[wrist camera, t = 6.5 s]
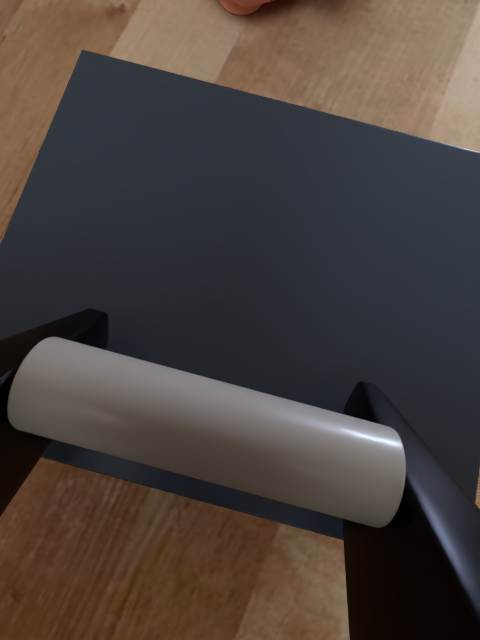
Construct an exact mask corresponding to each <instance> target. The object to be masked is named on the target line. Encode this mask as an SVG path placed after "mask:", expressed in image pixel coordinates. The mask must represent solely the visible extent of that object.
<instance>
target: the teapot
mask: <svg viewBox="0 0 480 640" xmlns="http://www.w3.org/2000/svg"><path fill="white" fill-rule="evenodd" d="M219 1H220V3H221V5H222V6H223V7H224V8H225V9H226V10H227V11H229V12H231V13H234V14H238V15H246V14H250V13H253V12H255V11H256V10H257V9H259V7H260V6H261V4H264V3H267V2H270V1H273V0H219Z"/></svg>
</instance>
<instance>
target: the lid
mask: <svg viewBox="0 0 480 640" xmlns="http://www.w3.org/2000/svg"><path fill="white" fill-rule="evenodd" d="M89 308H92V309H96V310H100V311H104V312H106V313H107V314H108V317H109V325H108V344H107V348H106V350H103V349H99V348H96V347H92V346H88V345H85V344H81V343H77V342H74V341H70V340H66V339H62V338H59V337H49V338H46V339H44V340H42V341H41V342H39V343H38V344H37V345H36V346H34V347H33V349H32V350H31V351H30V352H29V353H28V354H27V356H26V357H25V359H24V360H23V362H22V363H21V365H20V367H19V369H18V371H17V373H16V375H15V377H14V380H13V383H12V386H11V389H10V393H9V397H8V405H7V413H8V418H9V421H10V423H11V425H12V426H13V427H14V428H16V429H17V430H21V431H24V432H28V433H32V434H35V435H39V436H43V437H46V438H50V439H53V440H52V442H51V443H50V444H49V446H48V447H47V449H46V450H45V452H44V453H43V455H42V456H41V457H42V458H46V459H50V460H53V461H57V462H60V463H64V464H68V465H71V466H75V467H79V468H82V469H86V470H90V471H93V472H97V473H101V474H104V475H108V476H111V477H115V478H119V479H122V480H126V481H130V482H133V483H137V484H141V485H144V486H148V487H152V488H155V489H159V490H163V491H166V492H170V493H173V494H177V495H181V496H184V497H188V498H192V499H195V500H199V501H203V502H206V503H210V504H214V505H217V506H221V507H224V508H228V509H232V510H235V511H239V512H243V513H246V514H250V515H254V516H257V517H261V518H265V519H268V520H272V521H276V522H279V523H283V524H286V525H290V526H294V527H297V528H301V529H305V530H308V531H312V532H316V533H319V534H323V535H327V536H330V537H334V538H337V539H341V540H344V539H343V523H342V519H346V520H350V521H353V522H357V523H361V524H364V525H368V526H372V527H375V528H380V527H384V526H386V525H387V524H388V523H389V522H390V521H391V520H392V519H393V517H394V516H395V514H396V512H397V510H398V507H399V505H400V502H401V498H402V495H403V490H404V484H405V474H406V461H405V452H404V447H403V443H402V440H401V438H400V436H399V434H398V433H397V432H396V431H395V430H394V429H393V428H391V427H389V426H385V425H381V424H377V423H374V422H370V421H366V420H363V419H359V418H355V417H351V416H348V415H344V414H343V410H344V407H345V404H346V402H347V400H348V398H349V396H350V395H351V393H352V391H353V389H354V387H355V385H356V384H357V383H358V382H359V381H364V382H368V383H372V384H375V385H377V386H378V387H379V388H380V389H381V390H382V392H383V393H384V394H385V395H386V396H387V398H388V399H389V400H390V401H391V402H392V404H393V405H394V406H395V407H396V408H397V410H398V411H399V412H400V413H401V415H402V416H403V417H404V418H405V419H406V421H407V422H408V423H409V424H410V425H411V427H412V428H413V429H414V430H415V431H416V433H417V434H418V435H419V436H420V438H421V439H422V440H423V441H424V442H425V444H426V445H427V446H428V447H429V448H430V450H431V451H432V452H433V453H434V455H435V456H436V457H437V458H438V459H439V461H440V462H441V463H442V464H443V465H444V467H445V468H446V469H447V470H448V471H449V473H450V474H451V475H452V476H453V478H454V479H455V480H456V481H457V482H458V484H459V485H460V486H461V487H462V488H463V490H464V491H465V492H466V493H467V494H468V496H469V497H470V498H471V499H472V501H473V502H474V503H475V500H476V492H477V484H478V477H479V469H480V153H479V152H475V151H471V150H467V149H463V148H460V147H456V146H452V145H448V144H444V143H440V142H436V141H433V140H429V139H425V138H421V137H417V136H413V135H409V134H406V133H402V132H398V131H394V130H390V129H386V128H382V127H379V126H375V125H371V124H367V123H363V122H359V121H355V120H352V119H348V118H344V117H340V116H336V115H332V114H328V113H325V112H321V111H317V110H313V109H309V108H305V107H301V106H298V105H294V104H290V103H286V102H282V101H278V100H274V99H271V98H267V97H263V96H259V95H255V94H251V93H247V92H244V91H240V90H236V89H232V88H228V87H224V86H220V85H217V84H213V83H209V82H205V81H201V80H197V79H193V78H190V77H186V76H182V75H178V74H174V73H170V72H166V71H163V70H159V69H155V68H151V67H147V66H143V65H139V64H136V63H132V62H128V61H124V60H120V59H116V58H112V57H109V56H105V55H101V54H97V53H93V52H89V51H85V50H82V51H81V54H80V56H79V59H78V61H77V63H76V66H75V68H74V70H73V73H72V75H71V78H70V80H69V82H68V85H67V87H66V89H65V92H64V94H63V97H62V99H61V101H60V104H59V106H58V109H57V111H56V113H55V116H54V118H53V120H52V123H51V125H50V128H49V130H48V132H47V135H46V137H45V140H44V142H43V144H42V147H41V149H40V151H39V154H38V156H37V159H36V161H35V163H34V166H33V168H32V170H31V173H30V175H29V178H28V180H27V182H26V185H25V187H24V190H23V192H22V194H21V197H20V199H19V201H18V204H17V206H16V209H15V211H14V213H13V216H12V218H11V221H10V223H9V225H8V228H7V230H6V232H5V235H4V237H3V240H2V242H1V244H0V340H2V339H4V338H7V337H10V336H13V335H16V334H18V333H21V332H24V331H27V330H30V329H32V328H35V327H38V326H41V325H44V324H46V323H49V322H52V321H55V320H58V319H60V318H63V317H66V316H69V315H72V314H74V313H77V312H80V311H83V310H86V309H89Z"/></svg>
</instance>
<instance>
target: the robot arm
mask: <svg viewBox="0 0 480 640" xmlns="http://www.w3.org/2000/svg"><path fill="white" fill-rule="evenodd" d="M108 325H109V317H108V314H107V313H106V312H104V311H100V310H96V309H92V308H89V309H86V310H83V311H80V312H77V313H74V314H72V315H69V316H66V317H63V318H60V319H58V320H55V321H52V322H49V323H46V324H44V325H41V326H38V327H35V328H32V329H30V330H27V331H24V332H21V333H18V334H16V335H13V336H10V337H7V338H4V339H2V340H0V516H1V515H2V513H3V512H4V510H5V509H6V507H7V506H8V505H9V503H10V502H11V500H12V499H13V497H14V496H15V494H16V493H17V491H18V490H19V488H20V487H21V486H22V484H23V483H24V481H25V480H26V478H27V477H28V475H29V474H30V472H31V471H32V469H33V468H34V466H35V465H36V464H37V462H38V461H39V459H40V458H41V456H42V455H43V453H44V452H45V450H46V449H47V447H48V446H49V444H50V443H51V442H52V440H53V439H50V438H46V437H43V436H39V435H35V434H32V433H28V432H24V431H21V430H17V429H16V428H14V427H13V426H12V425H11V423H10V421H9V418H8V413H7V405H8V397H9V393H10V389H11V386H12V383H13V380H14V377H15V375H16V373H17V371H18V369H19V367H20V365H21V363H22V362H23V360H24V359H25V357H26V356H27V354H28V353H29V352H30V351H31V350H32V349H33V347H34V346H36V345H37V344H38V343H39V342H41V341H42V340H44V339H46V338H49V337H59V338H62V339H66V340H70V341H74V342H77V343H81V344H85V345H88V346H92V347H96V348H99V349H103V350H106V348H107V344H108ZM343 414H344V415H348V416H351V417H355V418H359V419H363V420H366V421H370V422H374V423H377V424H381V425H385V426H389V427H391V428H393V429H394V430H395V431H396V432H397V433H398V434H399V436H400V438H401V440H402V443H403V447H404V452H405V461H406V474H405V484H404V490H403V495H402V498H401V502H400V505H399V507H398V510H397V512H396V514H395V516H394V517H393V519H392V520H391V521H390V522H389V523H388V524H387V525H386V526H384V527H380V528H375V527H372V526H368V525H364V524H361V523H357V522H353V521H350V520H346V519H342V523H343V539H344V555H345V571H346V587H347V602H348V618H349V634H350V640H480V509H479V508H478V507H477V505H476V504H475V503H474V502H473V501H472V499H471V498H470V497H469V496H468V494H467V493H466V492H465V491H464V490H463V488H462V487H461V486H460V485H459V484H458V482H457V481H456V480H455V479H454V478H453V476H452V475H451V474H450V473H449V471H448V470H447V469H446V468H445V467H444V465H443V464H442V463H441V462H440V461H439V459H438V458H437V457H436V456H435V455H434V453H433V452H432V451H431V450H430V448H429V447H428V446H427V445H426V444H425V442H424V441H423V440H422V439H421V438H420V436H419V435H418V434H417V433H416V431H415V430H414V429H413V428H412V427H411V425H410V424H409V423H408V422H407V421H406V419H405V418H404V417H403V416H402V415H401V413H400V412H399V411H398V410H397V408H396V407H395V406H394V405H393V404H392V402H391V401H390V400H389V399H388V398H387V396H386V395H385V394H384V393H383V392H382V390H381V389H380V388H379V387H378V386H377V385H375V384H372V383H368V382H364V381H359V382H358V383H357V384H356V385H355V387H354V389H353V391H352V393H351V395H350V396H349V398H348V400H347V402H346V404H345V407H344V410H343Z"/></svg>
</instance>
